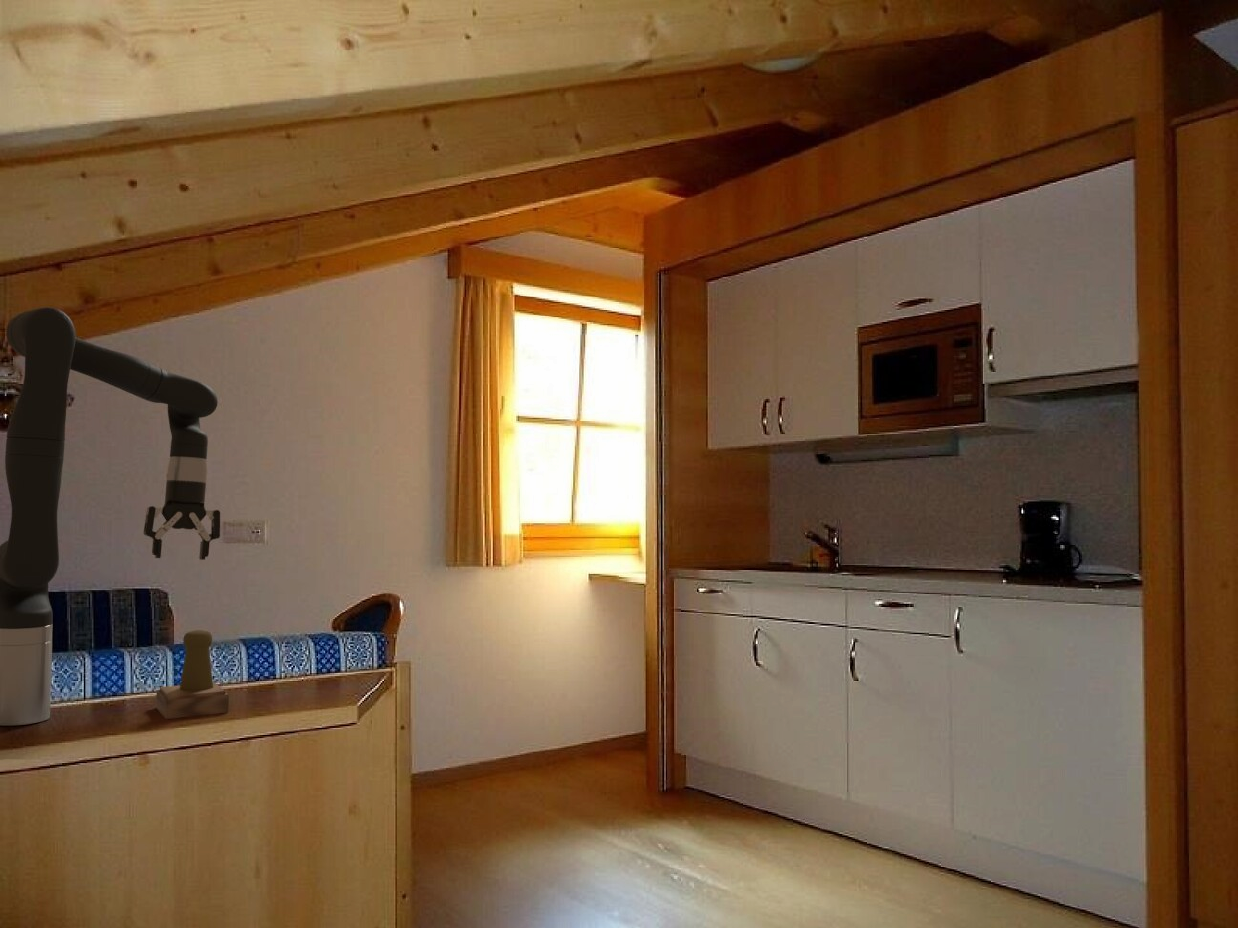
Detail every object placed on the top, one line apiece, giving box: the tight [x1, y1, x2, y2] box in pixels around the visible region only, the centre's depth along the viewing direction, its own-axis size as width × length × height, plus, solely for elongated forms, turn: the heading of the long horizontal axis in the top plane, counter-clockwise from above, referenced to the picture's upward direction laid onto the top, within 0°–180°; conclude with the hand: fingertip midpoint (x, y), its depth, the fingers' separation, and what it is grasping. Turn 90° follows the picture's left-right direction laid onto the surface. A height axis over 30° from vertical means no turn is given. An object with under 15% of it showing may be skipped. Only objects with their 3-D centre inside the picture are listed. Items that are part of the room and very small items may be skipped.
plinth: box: [155, 681, 230, 720], centre depth 191 cm, size 11×11×4 cm
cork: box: [180, 629, 214, 691], centre depth 193 cm, size 6×6×11 cm
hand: (180, 558), depth 204 cm, fingers open, 8 cm apart
